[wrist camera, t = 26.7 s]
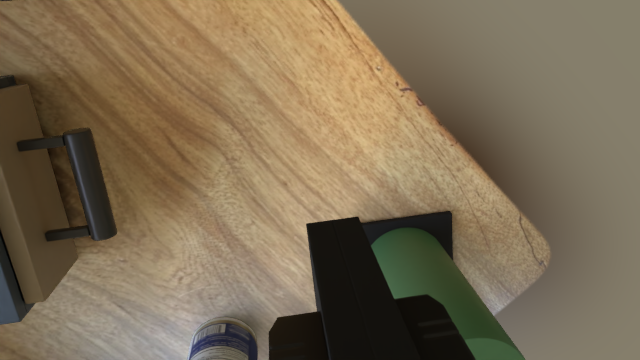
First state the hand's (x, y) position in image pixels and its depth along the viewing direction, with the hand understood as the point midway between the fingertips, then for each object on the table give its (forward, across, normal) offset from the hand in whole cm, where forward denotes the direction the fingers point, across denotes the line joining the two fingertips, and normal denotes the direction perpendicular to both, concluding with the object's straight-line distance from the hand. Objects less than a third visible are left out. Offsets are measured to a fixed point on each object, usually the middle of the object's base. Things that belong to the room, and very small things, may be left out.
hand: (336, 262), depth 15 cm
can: (+22, +7, -13) cm, 26 cm away
